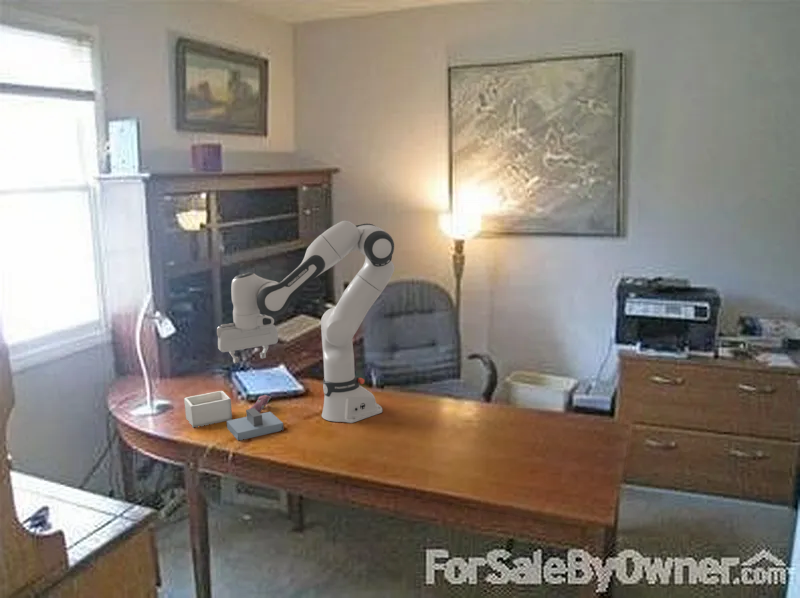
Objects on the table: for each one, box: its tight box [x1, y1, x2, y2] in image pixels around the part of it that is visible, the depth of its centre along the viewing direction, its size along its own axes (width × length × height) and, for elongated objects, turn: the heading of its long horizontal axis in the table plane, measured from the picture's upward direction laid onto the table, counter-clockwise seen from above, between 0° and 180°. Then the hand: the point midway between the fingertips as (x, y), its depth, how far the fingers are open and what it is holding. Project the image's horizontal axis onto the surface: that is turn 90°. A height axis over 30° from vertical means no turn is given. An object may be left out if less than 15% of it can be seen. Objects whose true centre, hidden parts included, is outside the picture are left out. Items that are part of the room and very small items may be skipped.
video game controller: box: [249, 394, 271, 414], centre depth 241 cm, size 10×5×7 cm, turn 170°
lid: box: [226, 408, 284, 442], centre depth 223 cm, size 16×13×6 cm
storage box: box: [183, 390, 233, 429], centre depth 233 cm, size 14×11×8 cm
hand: (249, 360), depth 219 cm, fingers open, 8 cm apart
